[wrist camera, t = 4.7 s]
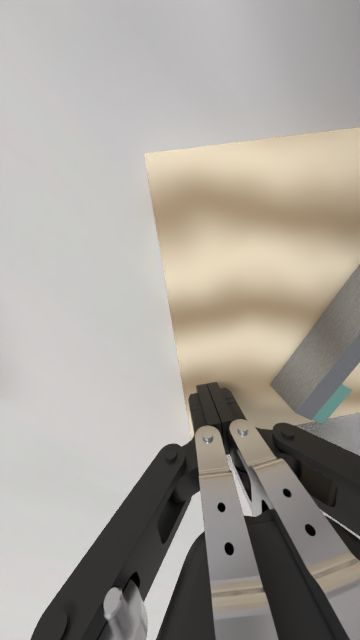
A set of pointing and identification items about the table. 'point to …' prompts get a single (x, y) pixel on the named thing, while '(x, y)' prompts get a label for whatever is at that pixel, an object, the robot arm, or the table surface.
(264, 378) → the board
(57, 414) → the table surface
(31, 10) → the table surface
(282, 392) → the tong arm
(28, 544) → the table surface
